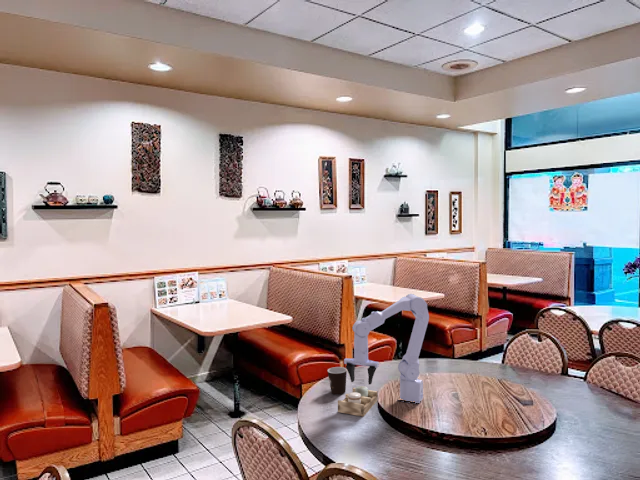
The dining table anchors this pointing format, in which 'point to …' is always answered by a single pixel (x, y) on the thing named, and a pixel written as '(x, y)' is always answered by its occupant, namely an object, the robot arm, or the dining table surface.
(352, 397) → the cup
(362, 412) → the rack
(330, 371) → the coffee mug
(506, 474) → the dining table surface
